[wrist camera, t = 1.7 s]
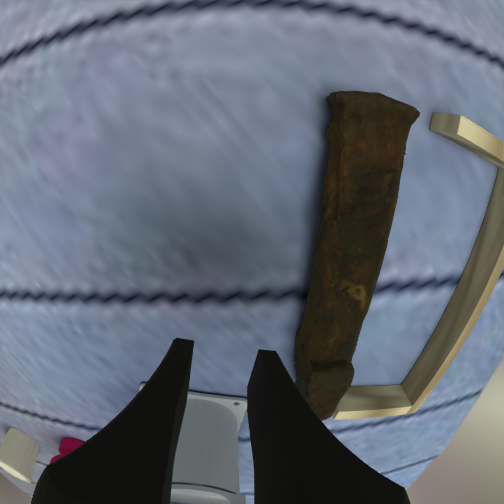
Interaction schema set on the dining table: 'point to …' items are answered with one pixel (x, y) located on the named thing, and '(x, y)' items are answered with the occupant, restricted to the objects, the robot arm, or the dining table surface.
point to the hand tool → (350, 238)
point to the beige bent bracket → (462, 302)
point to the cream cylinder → (18, 454)
